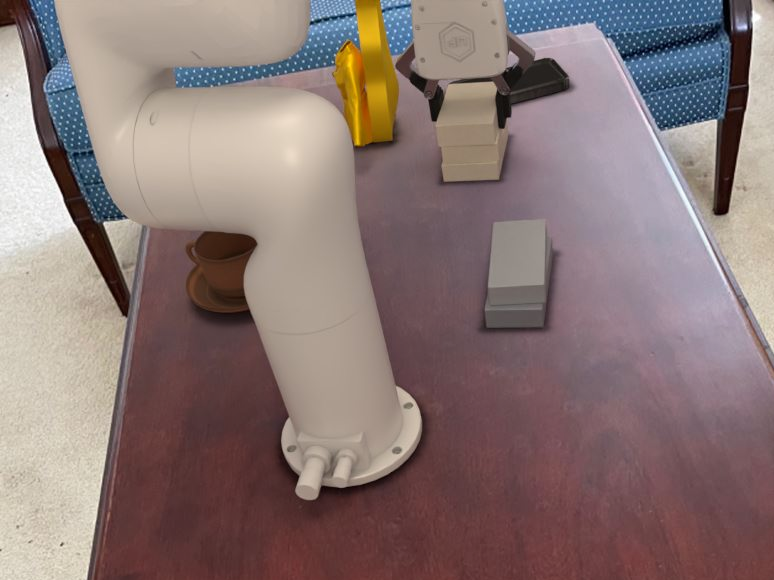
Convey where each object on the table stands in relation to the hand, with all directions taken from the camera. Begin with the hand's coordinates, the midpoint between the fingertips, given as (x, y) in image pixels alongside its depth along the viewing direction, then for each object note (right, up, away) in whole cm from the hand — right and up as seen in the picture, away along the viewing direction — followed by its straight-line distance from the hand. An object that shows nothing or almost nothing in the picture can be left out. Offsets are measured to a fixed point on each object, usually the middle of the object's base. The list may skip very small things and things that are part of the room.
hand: (472, 123), depth 110 cm
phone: (+5, +10, +14) cm, 18 cm away
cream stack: (+1, -3, +3) cm, 4 cm away
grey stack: (+5, -23, -15) cm, 28 cm away
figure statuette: (-12, +2, +11) cm, 16 cm away
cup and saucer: (-24, -21, -9) cm, 34 cm away
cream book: (0, 0, 0) cm, 0 cm away
